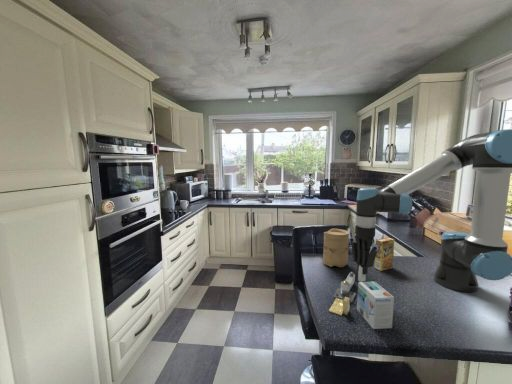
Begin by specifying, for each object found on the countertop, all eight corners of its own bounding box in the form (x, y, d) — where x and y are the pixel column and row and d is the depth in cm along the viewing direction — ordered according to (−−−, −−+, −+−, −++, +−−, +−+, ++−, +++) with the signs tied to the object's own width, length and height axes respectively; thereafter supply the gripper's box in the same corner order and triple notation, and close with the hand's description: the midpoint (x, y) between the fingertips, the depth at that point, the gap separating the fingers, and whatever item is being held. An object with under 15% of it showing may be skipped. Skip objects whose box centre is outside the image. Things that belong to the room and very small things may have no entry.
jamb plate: (355, 294, 93) (355, 292, 93) (351, 303, 88) (351, 300, 88) (338, 289, 97) (338, 287, 97) (333, 297, 92) (333, 295, 92)
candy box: (381, 271, 115) (382, 241, 113) (373, 267, 119) (375, 239, 117) (393, 268, 118) (395, 239, 116) (385, 265, 122) (387, 237, 120)
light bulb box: (356, 309, 84) (357, 281, 83) (373, 308, 85) (375, 280, 83) (373, 329, 73) (375, 298, 72) (393, 328, 74) (395, 297, 73)
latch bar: (347, 296, 90) (348, 284, 90) (339, 293, 92) (340, 282, 91) (355, 281, 102) (356, 270, 102) (348, 279, 104) (348, 269, 103)
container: (320, 265, 122) (320, 232, 120) (327, 257, 132) (327, 227, 130) (344, 271, 115) (346, 236, 113) (350, 262, 125) (351, 230, 123)
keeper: (352, 304, 87) (352, 291, 87) (346, 317, 79) (346, 304, 79) (336, 299, 90) (336, 287, 90) (328, 311, 83) (329, 298, 82)
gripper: (386, 228, 90) (381, 285, 92) (358, 221, 101) (355, 272, 104) (373, 230, 86) (368, 290, 89) (346, 223, 98) (343, 275, 101)
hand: (361, 280), depth 96 cm, fingers closed
